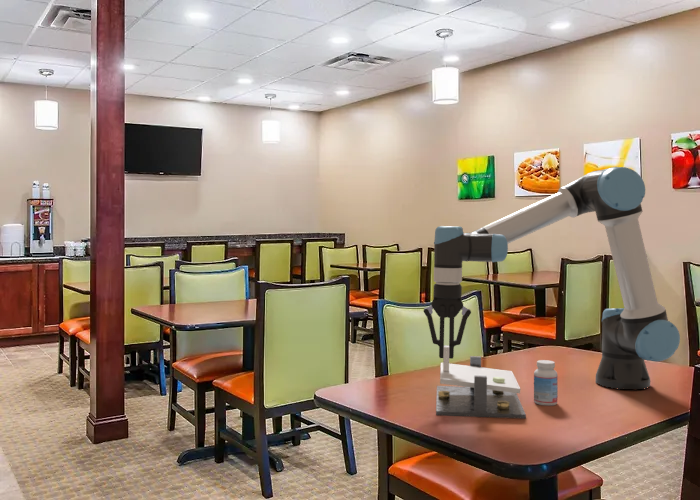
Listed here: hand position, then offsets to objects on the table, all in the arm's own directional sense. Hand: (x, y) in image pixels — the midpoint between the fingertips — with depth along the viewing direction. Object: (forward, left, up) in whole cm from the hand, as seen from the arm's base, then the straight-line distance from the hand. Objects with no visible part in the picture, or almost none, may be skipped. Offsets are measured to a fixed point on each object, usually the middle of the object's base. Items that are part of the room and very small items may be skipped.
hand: (446, 370), depth 174 cm
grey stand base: (-8, 0, -9) cm, 12 cm away
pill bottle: (-26, -2, -9) cm, 28 cm away
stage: (-8, 0, -2) cm, 9 cm away
